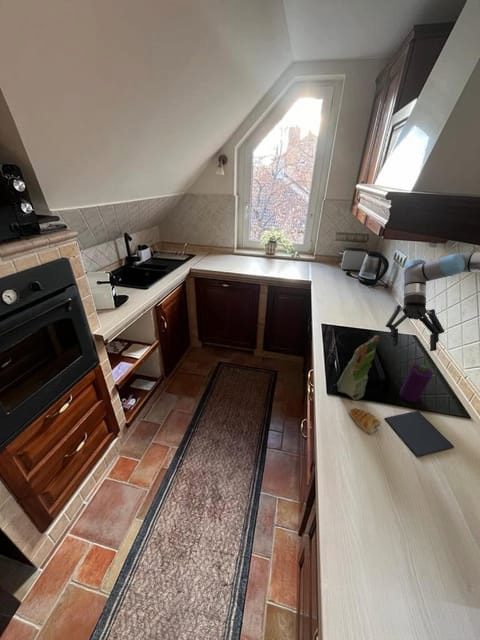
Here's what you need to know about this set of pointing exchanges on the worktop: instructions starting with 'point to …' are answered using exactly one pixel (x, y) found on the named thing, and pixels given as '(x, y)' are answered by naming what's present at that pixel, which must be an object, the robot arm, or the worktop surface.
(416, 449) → the mat
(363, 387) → the pouch
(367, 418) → the pastry
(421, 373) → the aubergine
